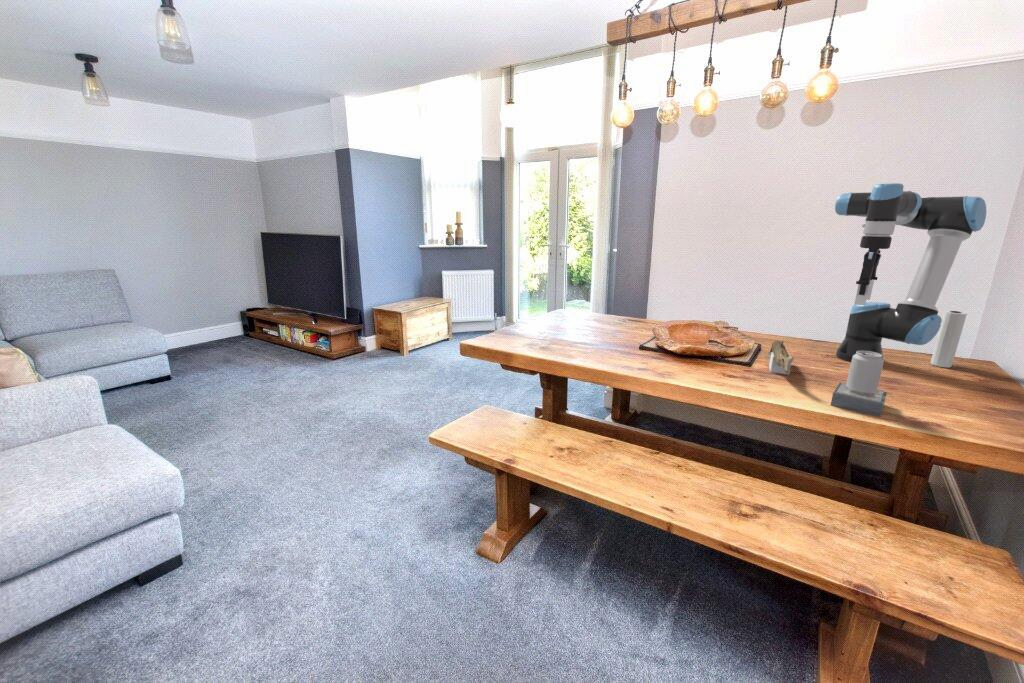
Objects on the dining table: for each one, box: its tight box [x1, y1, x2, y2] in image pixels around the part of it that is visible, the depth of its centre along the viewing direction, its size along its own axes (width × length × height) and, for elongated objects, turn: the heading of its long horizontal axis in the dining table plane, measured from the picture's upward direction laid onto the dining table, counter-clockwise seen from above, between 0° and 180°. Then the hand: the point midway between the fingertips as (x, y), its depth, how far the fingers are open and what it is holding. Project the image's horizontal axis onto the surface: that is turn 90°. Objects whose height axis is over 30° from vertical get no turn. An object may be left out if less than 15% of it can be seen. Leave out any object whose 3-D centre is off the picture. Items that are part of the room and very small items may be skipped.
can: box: [846, 351, 885, 394], centre depth 136 cm, size 8×8×12 cm
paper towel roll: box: [930, 310, 968, 369], centre depth 173 cm, size 7×6×21 cm
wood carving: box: [764, 340, 794, 376], centre depth 165 cm, size 9×35×11 cm, turn 156°
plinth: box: [830, 381, 888, 417], centre depth 138 cm, size 12×12×5 cm
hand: (862, 302), depth 148 cm, fingers open, 13 cm apart
